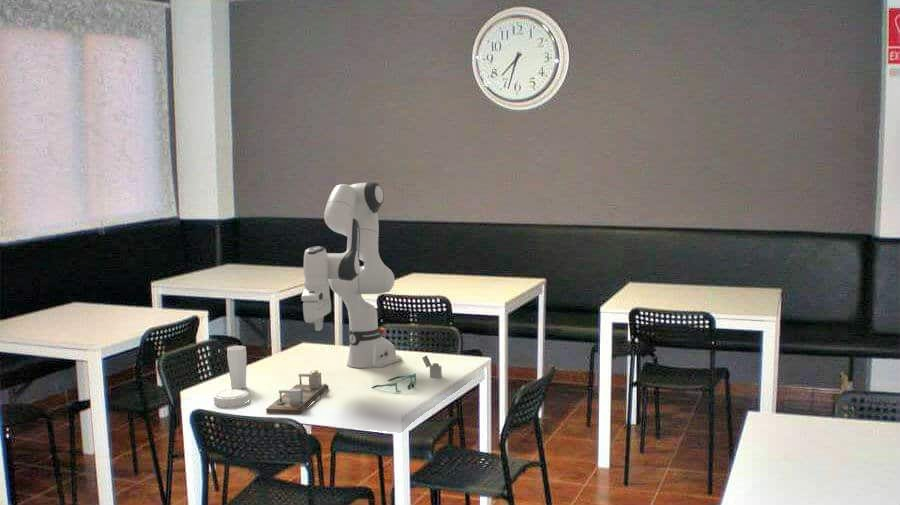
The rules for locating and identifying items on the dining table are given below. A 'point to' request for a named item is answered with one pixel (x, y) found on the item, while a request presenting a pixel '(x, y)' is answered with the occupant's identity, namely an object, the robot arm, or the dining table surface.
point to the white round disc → (231, 398)
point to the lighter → (433, 368)
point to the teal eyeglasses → (399, 381)
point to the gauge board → (286, 408)
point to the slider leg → (312, 379)
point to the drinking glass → (237, 366)
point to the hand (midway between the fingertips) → (319, 329)
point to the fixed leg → (299, 396)
